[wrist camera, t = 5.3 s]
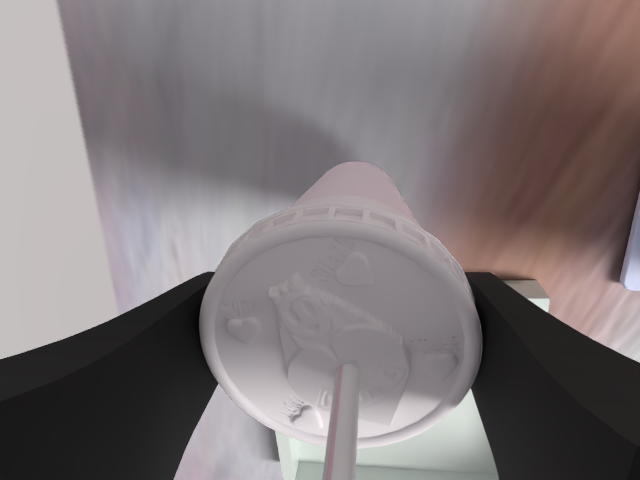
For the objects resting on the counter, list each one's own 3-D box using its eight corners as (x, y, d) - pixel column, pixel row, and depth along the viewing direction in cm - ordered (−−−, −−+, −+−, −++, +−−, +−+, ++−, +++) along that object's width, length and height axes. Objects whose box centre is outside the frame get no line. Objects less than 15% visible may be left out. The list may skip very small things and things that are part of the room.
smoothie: (334, 290, 20) (261, 715, 7) (253, 181, 18) (-37, 495, 5) (458, 225, 18) (663, 669, 5) (380, 94, 16) (395, 278, 3)
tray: (537, 280, 21) (550, 298, 20) (509, 478, 27) (517, 505, 25) (262, 281, 23) (253, 298, 22) (290, 464, 29) (284, 488, 27)
